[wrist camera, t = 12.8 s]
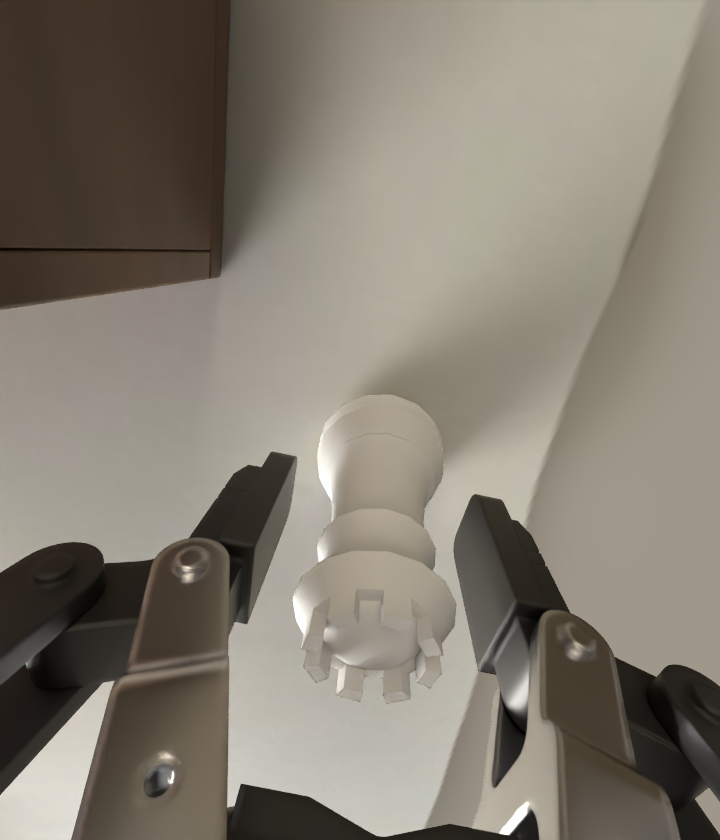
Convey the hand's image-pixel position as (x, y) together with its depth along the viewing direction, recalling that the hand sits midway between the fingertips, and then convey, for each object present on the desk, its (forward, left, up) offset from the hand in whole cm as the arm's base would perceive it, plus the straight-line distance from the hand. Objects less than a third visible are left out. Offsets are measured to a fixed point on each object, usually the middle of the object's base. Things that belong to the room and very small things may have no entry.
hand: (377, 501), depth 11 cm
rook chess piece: (0, 0, -4) cm, 4 cm away
